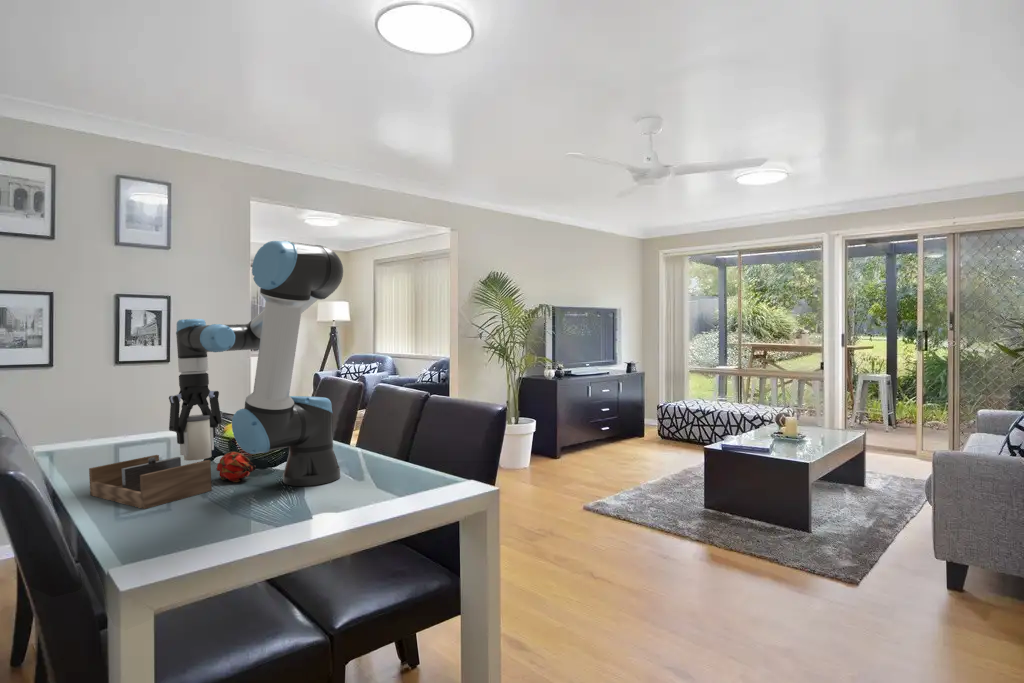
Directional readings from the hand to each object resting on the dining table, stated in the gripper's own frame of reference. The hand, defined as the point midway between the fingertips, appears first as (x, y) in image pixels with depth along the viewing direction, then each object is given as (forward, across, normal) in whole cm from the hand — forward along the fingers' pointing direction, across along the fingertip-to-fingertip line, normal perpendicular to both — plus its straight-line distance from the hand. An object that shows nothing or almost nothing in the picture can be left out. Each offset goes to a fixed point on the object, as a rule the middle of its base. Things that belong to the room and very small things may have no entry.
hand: (197, 452), depth 170 cm
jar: (+2, 0, 0) cm, 2 cm away
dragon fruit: (+7, -2, +14) cm, 16 cm away
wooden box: (+7, +16, +6) cm, 19 cm away
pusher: (+6, +17, +7) cm, 19 cm away
